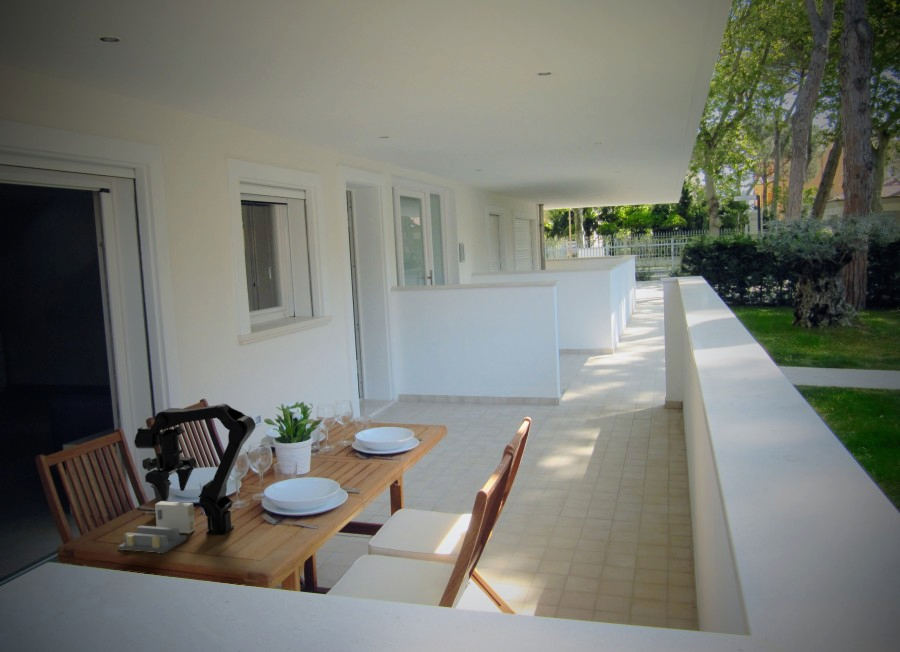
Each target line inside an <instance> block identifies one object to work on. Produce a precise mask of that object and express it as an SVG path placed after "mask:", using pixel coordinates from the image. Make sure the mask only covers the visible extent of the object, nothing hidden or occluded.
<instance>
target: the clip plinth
mask: <svg viewBox="0 0 900 652" xmlns="http://www.w3.org/2000/svg"><path fill="white" fill-rule="evenodd" d="M136 531H137V532H126V533H125V534H124V537H123V538H124V542H123V543H121V544H120V545H117V550H118V549H131V550H140V551H154V552H160V553H164V554H166V553H167V552H169V551H170V550H173V547H174V546H175V547H177V546H178V545H180V544H181V543H183V542H185V541H186V540H187V535H184V534H180V533H179V528H167V527H157V526H151V525H150V526H149V525H138V526H137V527H136ZM176 545H177V546H176ZM175 547H174V548H175ZM168 550H169V551H168ZM166 551H167V552H166ZM165 552H166V553H165ZM160 553H159V554H160Z"/></svg>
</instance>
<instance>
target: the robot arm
mask: <svg viewBox="0 0 900 652" xmlns="http://www.w3.org/2000/svg"><path fill="white" fill-rule="evenodd" d="M212 419H218V421H219V422H220V423H221V424H222V425H223V427H224V428H225V429H226V430H228V435H227V436H228V437H227V438H228V439H227V440H228V441H227V442H228V443H227V446H226V448H225V450H224V453H223V455H222V457H221V459H220V463H219V464H218V466H217V469H216V471H215V474H214V476H213V479H211V480H210V481H208V482H206V484H203V486H202V489H201V492H200V494H199V495H198V498H199V499H198V503H199V505H200V507H201V508H202V510H203V512H204V514H205V516H206V520H207V523H206V524H207V530H206V532H205V534H208V535H220V536H223V535H225V534H227V533H228V532H230V531H232V530H233V529H234V528H235V525H232V516H231V515H232V514H231V510H230V509H231V508H232V506H233V500H231V499H230V498H229V496H228V495H227V489H228V488H227V483H228V481H229V478H230V476H231V473H232V471H233V469H234V466H235V464H236V462H237V460H238V458H239V454H240V453H241V449H242V448H243V445H244V444H245V443H246V442H247V440H248V439H249V438H250V437H251V435H252V434H253V432H254V430H255V429H256V427H257V426H256V422H255V419H253V418H252V416H249V415H246V414H245V413H243V412H242V411H239V410H237V409H235V408H233V407H231V406H230V405H229V404H227V403H220V404H215V405H209V406H202V407H195V408H189V409H188V408H187V409H185V408H180V407H177V408H176V407H169V408H166V409H164V410H161V411H160V412H158V413H156V415H155V417H154V421H153V423H152V425H151V427H144V426H141V427H139V428H137V433H136V434H135V438H134V445H135V448H136V449H138V450H140V449H149V450H151V449H154V450H155V449H157V448H158V447H159V452H157V453H156V457H154V458H151V457H147V458H145V459H142V460H141V461H142V463H141V464H142V468H143V469H144V470H147V473H145V475H144V478H145V479H144V481H145V483H148V484H151V485H152V484H153V485H155V486H156V488H157V490H158V492H159V494H160V496H161V498H162V500H166V499H167V495H168V488H169V489H170V486H169V482H171V480H170V479H169V478H170V474H171V473H174V472H175V473H176V474H177V477H178V478H177V479H178V484H179V490H180V491H181V492H184V491H185V489H186V486H187V485H188V482H189V479H190V477H191V475H192V473H193V470H195V467H197V460H196V458H195V457H193V456H191V457H189V456H188V457H187V456H181V454H182V453H183V449H182V448H181V449H180V440H179V436H180V435H182V434H184V433H185V432H186V431H185V430H184V429H183V428H181V427H180V425H182V424H185V423H192V422H199V421H204V420H212ZM173 427H174V428H173ZM163 430H164V431H163ZM167 500H168V499H167Z"/></svg>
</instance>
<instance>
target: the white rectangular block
mask: <svg viewBox="0 0 900 652" xmlns="http://www.w3.org/2000/svg"><path fill="white" fill-rule="evenodd" d="M154 507H155V522H156V523H155V524H156V527H167V528H179V534H190V533H192V532H194V531H195V530H196V526H195V525H196V524H195V513H194V511H195V509H194V503H193V502H179V501H178V502H177V501H168V500H167V501H160V502H158V501H157V503H155V504H154Z"/></svg>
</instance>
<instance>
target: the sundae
mask: <svg viewBox="0 0 900 652" xmlns="http://www.w3.org/2000/svg"><path fill="white" fill-rule="evenodd" d="M171 485H172V482H171V481H170V482H169V488H168V495H167V499H166V500H162V498H161V496H160V494H159V492H158V490H157V488H156V486H155V485H153V484H151V485H150V488H152V489H153V492H154V497H155V500H156V501H157V503H158V502H160V501H167V502H168V499H169V495H170V486H171Z"/></svg>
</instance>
